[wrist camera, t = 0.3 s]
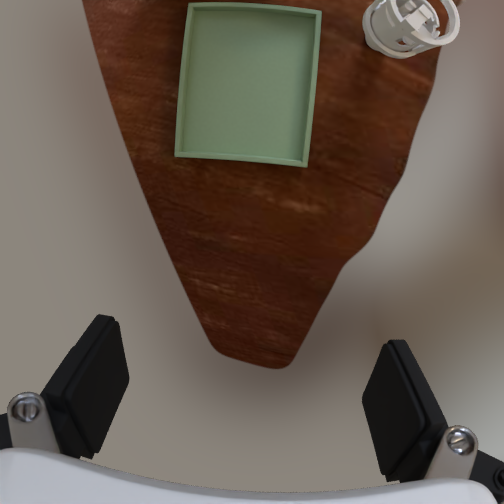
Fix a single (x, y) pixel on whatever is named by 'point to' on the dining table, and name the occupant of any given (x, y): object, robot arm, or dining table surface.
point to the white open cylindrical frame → (406, 26)
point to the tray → (248, 82)
